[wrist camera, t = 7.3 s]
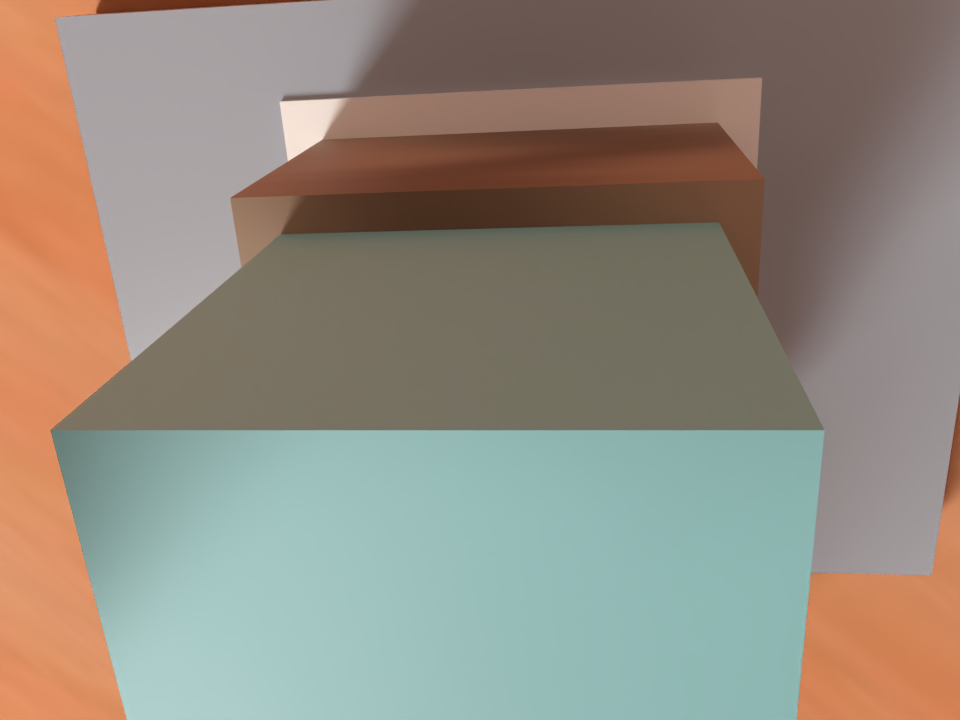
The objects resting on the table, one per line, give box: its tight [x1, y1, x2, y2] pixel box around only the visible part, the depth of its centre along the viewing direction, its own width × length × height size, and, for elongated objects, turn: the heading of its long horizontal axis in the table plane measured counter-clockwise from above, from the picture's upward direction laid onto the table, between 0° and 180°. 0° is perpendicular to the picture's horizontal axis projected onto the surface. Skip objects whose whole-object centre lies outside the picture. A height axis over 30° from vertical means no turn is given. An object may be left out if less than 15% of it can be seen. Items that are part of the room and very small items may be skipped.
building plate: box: [55, 0, 960, 575], centre depth 16 cm, size 14×10×1 cm
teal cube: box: [51, 222, 825, 720], centre depth 9 cm, size 5×5×5 cm
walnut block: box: [230, 123, 765, 298], centre depth 13 cm, size 6×6×4 cm
